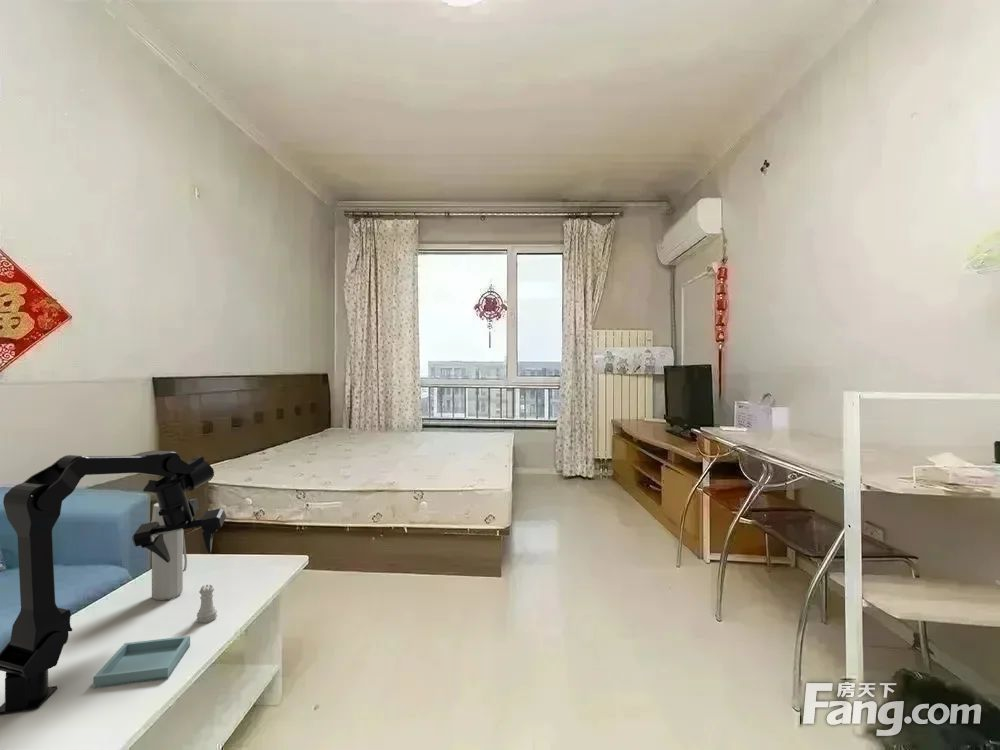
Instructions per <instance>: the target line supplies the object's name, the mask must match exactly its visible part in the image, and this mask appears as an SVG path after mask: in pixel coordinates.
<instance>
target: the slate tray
mask: <svg viewBox="0 0 1000 750" xmlns="http://www.w3.org/2000/svg"><path fill="white" fill-rule="evenodd" d="M190 647H191V635H186V636H177V637H167V638H157V639H150V640H142V641H141V640H140V641H139V640H138V641H132V642H131V641H130V642H125V643H124V644H122V645H121V647H119V649H118V650H117V651H116V652H115V653H114V654H113V655H112V656H111V657H110V659H108V661H107V662H106V663H105V664H104V665H103V666H102V667H101V668H100V669H99V671H97V673H96V674H95V675H94V676H93V689H99V688H100V689H101V688H105V687H106V688H107V687H113V686H114V687H115V686H122V685H131V684H138V683H139V684H140V683H145V682H153V681H162V680H169V678H170V677H171V675H172V674H173V672H174V670H175V669H176V668H177V666H178V665H179V663H180V662H181V660H182V658H183V657H184V655H185V654H186V653H187V652H188V650H189V648H190Z"/></svg>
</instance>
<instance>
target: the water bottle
mask: <svg viewBox="0 0 1000 750" xmlns="http://www.w3.org/2000/svg"><path fill="white" fill-rule="evenodd" d="M159 511H160V508H159V505H158V502H156V503H154V504H153V509H152V516H151V521H150V523H151V522H156V521H157V522H159V524H160V526H163V525H165V524H164V521H163V518H162V516H159V513H158V512H159ZM184 530H185V529H184ZM184 530H179V531H174V532H169V533H165V534H163V539H164V542H165V545H166V547H167V550H168V552H169V556H170V562H168V563H167V562H166V561H165V560H163V559H162V558H161V557H159V556H158V555H157V554H155V553H154V552H152V551H151V597H152V598H153V599H154V600H156V601H164V600H165V601H166V599H167V600H171V599H174V598H176V597H178V596H180V595H181V594H182V593H183V589H184V572H186V571H187V567H188V565H187V564H188V558H187V557H188V556H187V550H186V549H187V548H186V540H185V532H184Z"/></svg>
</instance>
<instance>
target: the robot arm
mask: <svg viewBox="0 0 1000 750" xmlns="http://www.w3.org/2000/svg"><path fill="white" fill-rule="evenodd" d="M214 471H215V470H214V468H213V467H212V466H211V464H210V463H209V462H207V461H206V460H205V458H204V457H203V456H199V455H198V456H195V457H193V458H192V459H191V460H188V461H187V462H186V461H184V460H183V459H181V456H180V455H179V453H178V452H176V451H167V450H166V451H165V450H149V451H144V452H139V453H136V454H132V455H76V454H68V455H64V456H62V457H60V458H58V460H56V461H55V462H53V463H52V464H51V465H49V466H47V467H46V468H44V469H42V470H39V472H37V473H34V474H32V475H31V476H30V477H28V478H27V479H26V480H25V481H23V482H21V483H18V484H16V485H14V486H13V487H11V488H10V489H9V490H8V491H7V492H6V493H5V494H4V497H3V503H2V504H3V508H4V511H5V515H6V518H7V521H8V522H9V523H10V525H11V526H12V528H13V530H14V531H15V533H16V536H17V553H18V554H17V555H18V575H19V594H20V612H19V613H18V615H17V617H16V619H15V620H14V622H13V624H12V628H11V635H10V640H9V642H8V643H7V644H6V645H5V646H4V648H3V649H2V650H1V651H0V671H2V672H4V673H5V672H6V673H5V678H4V702H3V703H2V704H1V705H0V715H5V714H12V713H19V712H27V711H34V710H37V709H39V708H40V707H41V706H42V704H44V703H45V702H46V701H47V700H48V699H49V698H50V697H51V696H52V695H53V694H54V693H55V692H56V691H57V690H58V689H59V688H58V685H51V686H50V685H49V670H50V669H52V668H54V667H56V666H57V665H58V662H59V659H60V656H61V653H62V651H63V648H64V646H65V645H66V644H67V643H68V640H69V632H72V631H73V628H72V627H71V617H72V614H71V609H67V608H62V607H58V606H57V604H56V587H55V585H56V584H55V566H54V565H55V563H54V562H55V561H54V546H53V545H54V542H53V540H54V539H53V529H54V527H55V525H56V523H57V521H58V520H59V518H60V516H61V512H62V506H63V501H64V500H65V499H67V498H68V497H69V496H70V495H71V494H72V493H73V492H74V491H75V489H76V488H77V486H78V484H79V483H80V481H81V480H82V478H84V477H85V476H91V475H92V476H93V475H118V474H139V475H146V476H155V477H161V478H158V479H157V480H155V479H154V480H153V479H149V480H148V483H147V484H146V485H145V487H144V488H143V492H144V493H152V494H153V493H154V494H155V498H156V501H157V502H156V503H158V505H159V508H160V511H159V512H158V513H159V516H162V518H163V521H164V524H165V525H163V526H160V524H159V522H157V521H156V522H151V521H150V522H148V523H142V524H140V525H139V527H138V528H137V529H136V530H135V532H134V533H133V535H132V538H131V541H132V544H133V546H134V547H141V548H142V549H144V548H145V549H148V551H151V553H152V552H154V553H155V554H157V555H158V556H159V557H161V558H162V559H163V560H165V561H166V562H167V563H168V562H170V556H169V552H168V550H167V547H166V545H165V542H164V539H163V534H165V533H169V532H174V531H179V530H189V529H194V528H196V527H201V530H202V531H203V532H202V534H201V535H202V537H203V542H204V545H205V548H206V551H207V553H208V554H212V550H213V549H212V548H213V540H214V535H215V533H216V532H217V531H218V530H220V529H221V528H222V526H223V524H224V523H225V520H226V518H227V515H226V511H225V510H224V509H222V508H221V507H220V508H216V509H211V510H207V511H206V510H205V512H204V514H203V516H202V517H198V518H193V517H196V515H197V512H199V511H200V508H199V501H198V498H192V499H190V496H187V495H186V491H194V490H195V489H197V488H198V487H200V486H201V485H204V484H205V483H207V482H208V481H210V480H212V479H213V478H214V477H215V472H214Z"/></svg>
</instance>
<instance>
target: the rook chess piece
mask: <svg viewBox="0 0 1000 750" xmlns="http://www.w3.org/2000/svg"><path fill="white" fill-rule="evenodd" d="M214 591H215V588H214V586H213V585H212V584H205V585H202V586H201V587H200V590H199V591H198V592H199V594H200V598H199V599H200V607H199V609H198V612H197V613H196V621H197V623H199V622H200V624H205V623H204V622H207V623H210V622H212V621H214V620H215V619H216V618H217V617H218V614H217V611H218V610H217V609H216V606H215V605H214V601H213V597H214V594H213V592H214ZM209 621H210V622H209Z"/></svg>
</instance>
